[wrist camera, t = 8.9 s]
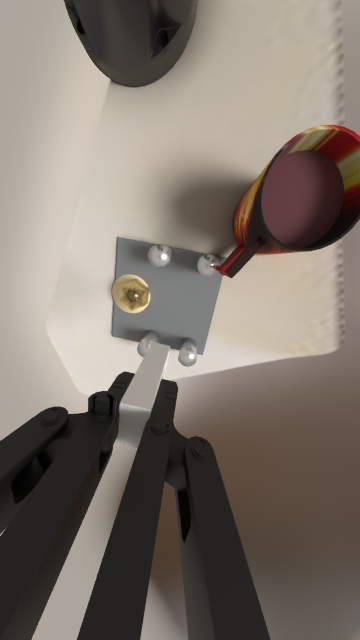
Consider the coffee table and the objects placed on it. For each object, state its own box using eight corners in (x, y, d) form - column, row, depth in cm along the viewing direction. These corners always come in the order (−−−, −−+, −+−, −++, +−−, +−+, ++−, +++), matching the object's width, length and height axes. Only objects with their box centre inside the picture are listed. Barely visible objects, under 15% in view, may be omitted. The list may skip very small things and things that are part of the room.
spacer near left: (157, 244, 30) (149, 242, 26) (175, 248, 30) (170, 246, 25) (154, 263, 31) (146, 265, 26) (172, 267, 31) (167, 269, 26)
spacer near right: (199, 252, 30) (199, 252, 25) (217, 256, 30) (221, 256, 25) (195, 271, 31) (195, 274, 26) (213, 275, 31) (216, 278, 26)
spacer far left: (146, 328, 35) (138, 340, 31) (161, 332, 35) (156, 343, 30) (144, 342, 36) (136, 355, 32) (159, 346, 36) (153, 359, 31)
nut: (126, 276, 32) (120, 278, 30) (151, 281, 32) (147, 283, 30) (124, 304, 34) (118, 308, 32) (147, 309, 34) (143, 313, 32)
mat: (116, 236, 31) (115, 236, 30) (226, 258, 30) (227, 258, 30) (110, 334, 37) (109, 335, 36) (202, 353, 36) (202, 355, 36)
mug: (214, 272, 31) (227, 278, 19) (246, 174, 26) (286, 109, 15) (270, 288, 31) (316, 304, 19) (311, 194, 27) (399, 144, 15)
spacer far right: (182, 336, 35) (180, 348, 30) (198, 339, 35) (198, 352, 30) (179, 350, 36) (176, 364, 31) (194, 353, 36) (194, 367, 31)
